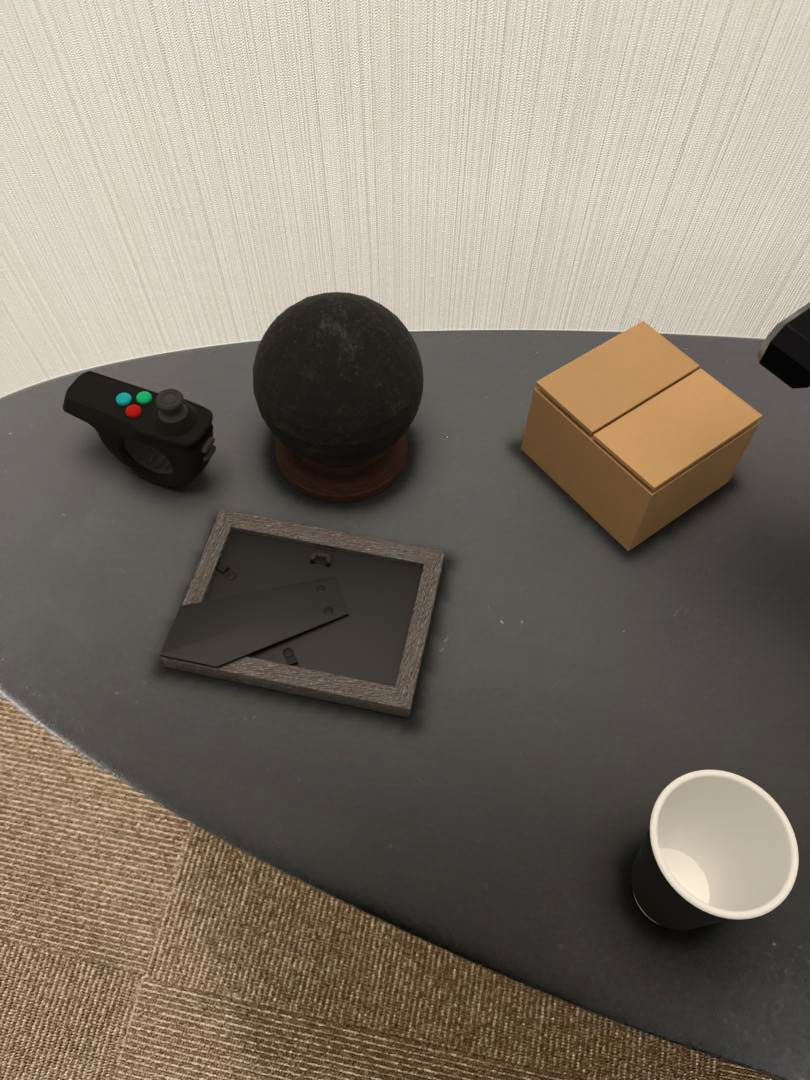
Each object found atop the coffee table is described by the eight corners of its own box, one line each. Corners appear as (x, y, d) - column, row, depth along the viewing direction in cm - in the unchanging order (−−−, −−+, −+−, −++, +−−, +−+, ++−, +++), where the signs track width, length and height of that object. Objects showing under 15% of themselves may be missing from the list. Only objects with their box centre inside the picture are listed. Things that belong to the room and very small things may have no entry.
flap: (761, 418, 70) (762, 415, 70) (653, 491, 66) (654, 487, 65) (699, 371, 73) (700, 367, 73) (592, 437, 69) (593, 434, 68)
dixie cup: (734, 967, 55) (806, 931, 46) (604, 943, 56) (649, 903, 47) (729, 837, 60) (794, 781, 51) (609, 817, 60) (651, 757, 51)
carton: (728, 481, 77) (764, 415, 70) (628, 551, 72) (654, 488, 65) (620, 389, 82) (642, 319, 75) (520, 449, 78) (534, 381, 71)
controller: (208, 511, 73) (186, 430, 65) (77, 462, 76) (41, 377, 67) (234, 473, 75) (216, 389, 67) (107, 426, 78) (75, 340, 70)
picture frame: (165, 667, 65) (409, 718, 64) (159, 654, 64) (410, 706, 62) (223, 520, 73) (443, 562, 71) (219, 505, 71) (445, 548, 70)
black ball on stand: (386, 532, 73) (389, 404, 60) (237, 484, 75) (210, 351, 62) (439, 416, 80) (452, 280, 67) (301, 376, 82) (289, 237, 69)
